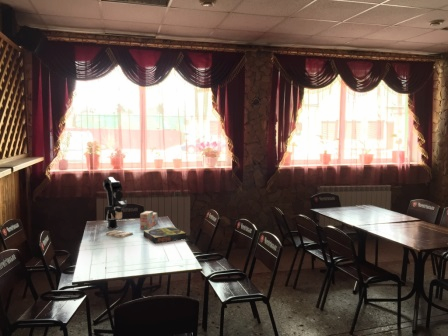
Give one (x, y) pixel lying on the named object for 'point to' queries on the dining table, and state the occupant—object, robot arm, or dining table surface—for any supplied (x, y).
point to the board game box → (164, 234)
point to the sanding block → (117, 215)
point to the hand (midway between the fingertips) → (116, 217)
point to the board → (119, 233)
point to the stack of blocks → (148, 219)
